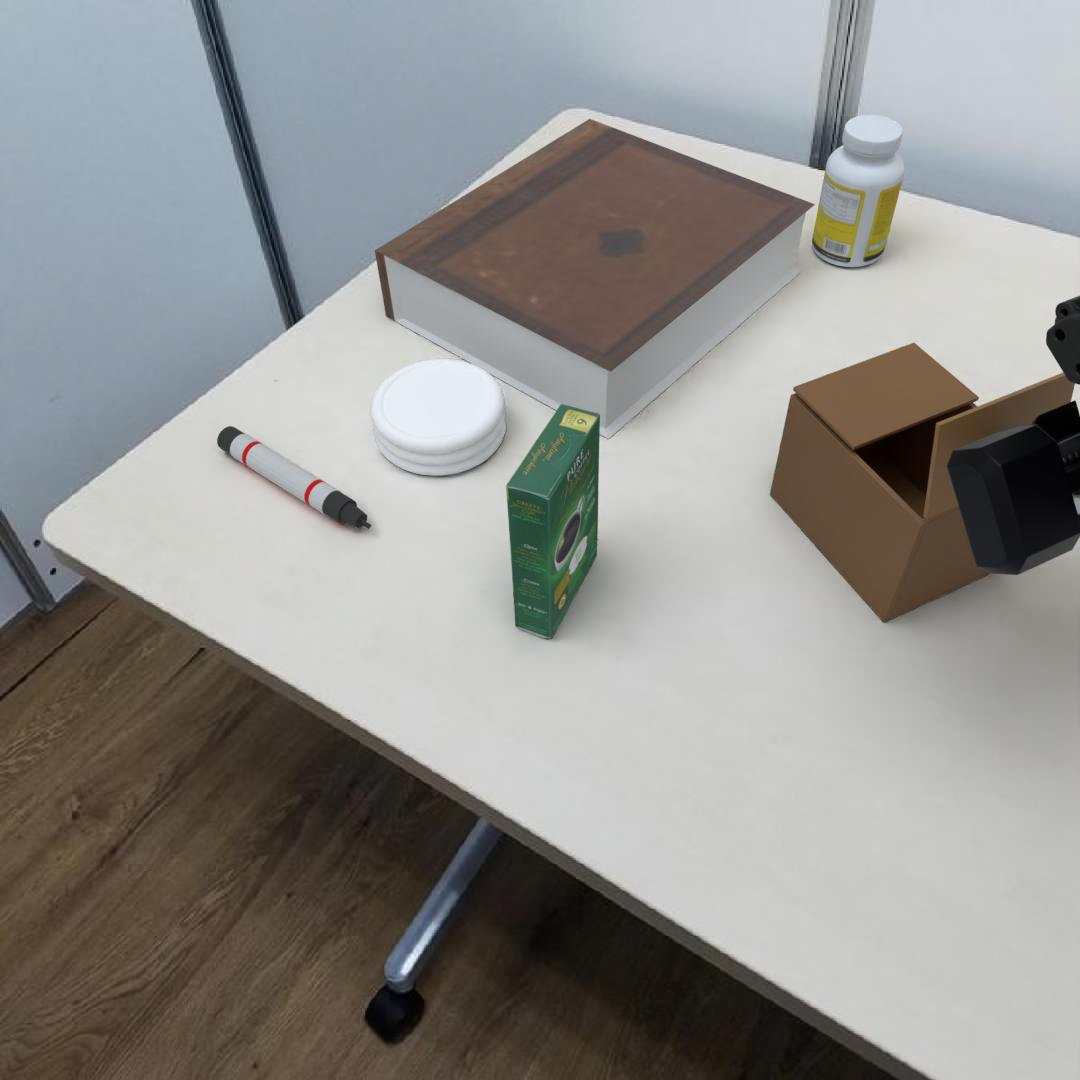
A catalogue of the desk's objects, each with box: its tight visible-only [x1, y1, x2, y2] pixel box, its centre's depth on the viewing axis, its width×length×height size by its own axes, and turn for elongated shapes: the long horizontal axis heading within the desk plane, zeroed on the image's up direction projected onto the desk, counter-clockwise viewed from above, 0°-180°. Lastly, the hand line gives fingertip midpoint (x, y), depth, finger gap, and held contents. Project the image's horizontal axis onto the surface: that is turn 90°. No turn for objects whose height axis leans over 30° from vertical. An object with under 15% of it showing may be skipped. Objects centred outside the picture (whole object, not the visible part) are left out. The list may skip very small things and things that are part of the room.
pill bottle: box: [811, 114, 906, 268], centre depth 88 cm, size 6×6×12 cm
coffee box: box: [505, 404, 600, 639], centre depth 63 cm, size 8×3×13 cm, turn 155°
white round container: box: [369, 358, 507, 476], centre depth 76 cm, size 10×10×4 cm
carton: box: [769, 342, 992, 623], centre depth 66 cm, size 13×10×10 cm
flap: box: [923, 372, 1076, 519], centre depth 57 cm, size 6×10×1 cm
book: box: [374, 118, 816, 440], centre depth 87 cm, size 24×28×6 cm
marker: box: [216, 425, 372, 530], centre depth 73 cm, size 15×2×2 cm, turn 52°
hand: (1001, 460), depth 57 cm, fingers closed, pressing on flap
